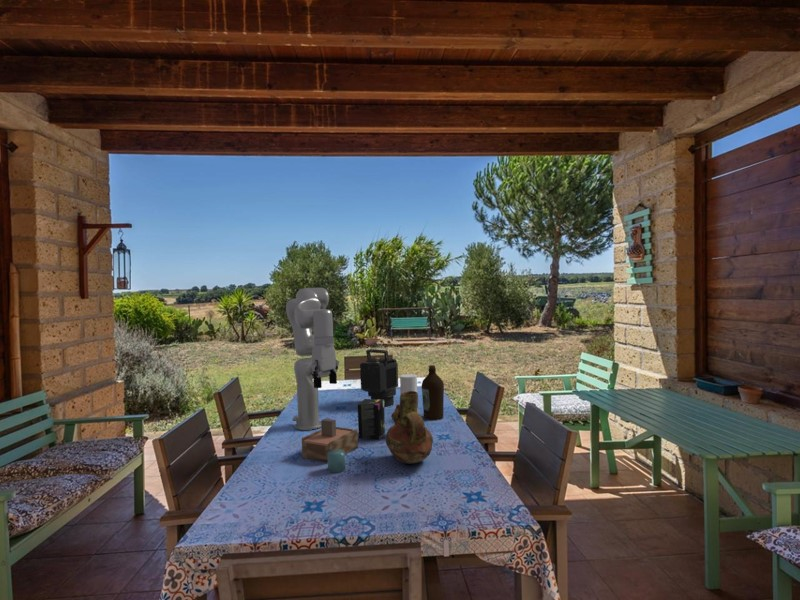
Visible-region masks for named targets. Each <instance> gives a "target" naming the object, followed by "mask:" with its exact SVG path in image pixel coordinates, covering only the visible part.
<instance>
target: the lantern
mask: <svg viewBox="0 0 800 600" xmlns="http://www.w3.org/2000/svg"><path fill="white" fill-rule="evenodd" d="M365 352H366V353H365V354H366V359H367V360H365V361H364V362H360V363H359V368H360V369H359V371H360V389H361V390H362V391H363V392H367V395H368V397H370V399H384V408H389V407H392V406H393V404H394V403H395V401H394V400H395V399H394V398H395V397H394V396H396V395H397V388H399V363H398V361H397V359H395V358H390V357H389V351H388V350H386V349H372V348H371V349H367V350H366V351H365ZM371 353H372V354H373V353H374V354H383V356H384V358H383V357H372V356H371V355H372V354H371ZM391 405H392V406H391ZM388 406H389V407H388Z"/></svg>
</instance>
